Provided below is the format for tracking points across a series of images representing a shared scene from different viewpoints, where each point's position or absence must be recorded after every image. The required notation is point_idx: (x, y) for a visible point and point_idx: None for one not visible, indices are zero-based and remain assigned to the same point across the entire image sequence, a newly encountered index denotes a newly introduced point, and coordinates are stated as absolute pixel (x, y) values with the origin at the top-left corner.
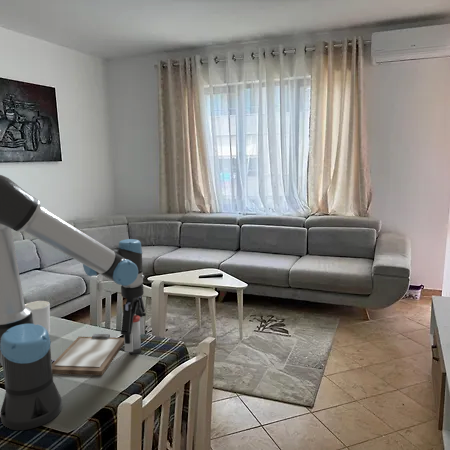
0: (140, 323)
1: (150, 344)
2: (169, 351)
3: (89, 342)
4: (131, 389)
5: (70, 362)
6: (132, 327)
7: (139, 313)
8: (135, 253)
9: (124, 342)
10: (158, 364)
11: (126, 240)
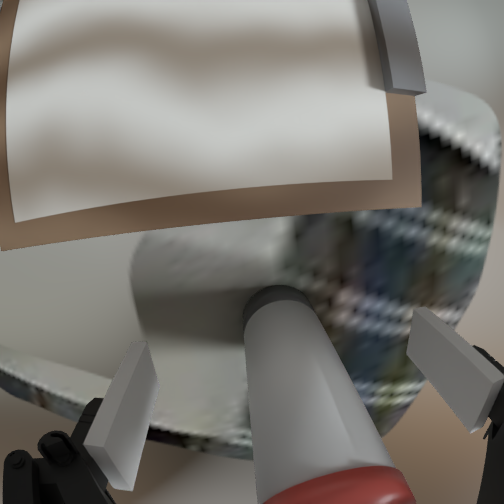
0: (451, 385)
1: (373, 354)
2: None
3: None
4: (6, 385)
5: (37, 33)
6: (255, 471)
7: (493, 448)
8: None
9: (110, 387)
10: (178, 440)
11: None
